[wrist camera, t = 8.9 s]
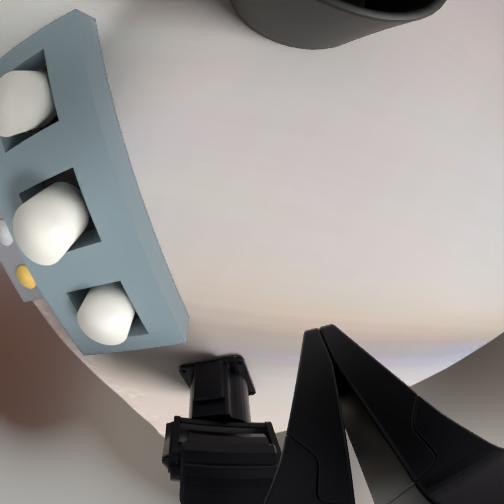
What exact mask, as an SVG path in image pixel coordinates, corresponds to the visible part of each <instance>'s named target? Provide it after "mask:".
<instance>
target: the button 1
mask: <svg viewBox="0 0 504 504" xmlns="http://www.w3.org/2000/svg"><path fill="white" fill-rule="evenodd" d="M56 115H57V111H56V107H55V103H54V99H53V95H52V90H51V86H50V81H49V76H48V71H11V72H8V73H6V74H5V75H3V76H2V77H1V78H0V136H2V137H10V136H13V135H16V134H19V133H23V132H26V131H29V130H33V129H36V128H40V127H43V126H45V125H47V124H49V123H50V122H51V121H52V120H53V119H54V118H55V116H56Z"/></svg>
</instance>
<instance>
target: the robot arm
mask: <svg viewBox="0 0 504 504" xmlns="http://www.w3.org/2000/svg"><path fill="white" fill-rule="evenodd" d="M179 372H180V374H181V375H182V377H183V379H184V380H185V382H186V383H187V385H188V386H189V388H190V407H189V418H182V417H180V416H174V422H171V423H167V424H166V434H165V443H164V449H163V456H162V458H163V459H162V463H163V464H164V465H165V466H166V468H167V469H168V473H170V475H171V478H170V479H171V481H177V482H180V494H179V495H180V502H181V504H355V498H354V490H353V481H352V474H351V467H350V459H349V452H348V446H347V439H346V433H345V429H346V431H347V434H348V436H349V439H350V441H351V444H352V446H353V449H354V452H355V454H356V456H357V459H358V462H359V464H360V467H361V469H362V472H363V474H364V477H365V480H366V482H367V485H368V487H369V490H370V492H371V495H372V498H373V501H374V503H375V504H504V448H501V447H498V446H496V445H493V444H491V443H490V442H488V441H486V440H484V439H482V438H481V437H479V436H478V435H476V434H474V433H473V432H471V431H469V430H468V429H466V428H464V427H463V426H461V425H459V424H458V423H456V422H455V421H453V420H452V419H450V418H449V417H447V416H446V415H444V414H442V413H441V412H440V411H439V410H437V409H436V408H435V407H433V406H432V405H430V404H429V403H428V402H427V401H426V400H425V399H423V398H422V397H421V396H417V393H416V392H415V391H414V390H412V389H411V388H410V387H409V386H407V385H406V384H405V383H404V382H403V381H401V380H400V379H399V378H398V377H397V376H395V375H394V374H393V373H392V372H390V371H389V370H388V369H387V368H386V367H384V366H383V365H382V364H381V363H380V362H378V361H377V360H376V359H375V358H374V357H372V356H371V355H370V354H369V353H367V352H366V351H365V350H364V349H363V348H361V347H360V346H359V345H358V344H357V343H355V342H354V341H353V340H352V339H351V338H349V337H348V336H347V335H346V334H345V333H343V332H342V331H341V330H340V329H339V328H337V327H336V326H335V325H333V324H330V325H326V326H322V327H320V328H319V329H318V328H314V329H310V330H306V331H305V332H304V335H303V342H302V349H301V355H300V362H299V368H298V374H297V380H296V385H295V391H294V397H293V402H292V407H291V413H290V418H289V423H288V428H287V433H286V434H287V436H286V437H285V442H284V446H283V451H282V453H281V450H280V447H279V444H278V441H277V438H276V435H275V432H274V429H273V426H272V423H271V422H265V423H252V422H251V417H250V407H249V397H248V396H250V395H254V394H255V393H256V391H255V387H254V384H253V382H252V379H251V376H250V374H249V371H248V368H247V366H246V363H245V360H244V358H243V357H240V356H239V357H232V358H227V359H221V360H215V361H208V362H202V363H195V364H188V365H182V366H180V367H179Z"/></svg>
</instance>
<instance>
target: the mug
mask: <svg viewBox="0 0 504 504" xmlns="http://www.w3.org/2000/svg"><path fill="white" fill-rule="evenodd" d="M230 1H231V3H232V6H233V7H234V9H235V10H236V12H237V13H238V15H239V16H240V17H241V18H242V19H243V20H244V21H245V23H247V24H248V25H249V26H250V27H251V28H253V29H254V30H255V31H257V32H258V33H260V34H261V35H263V36H265V37H267V38H269V39H271V40H273V41H275V42H278V43H281V44H284V45H286V46H290V47H295V48H301V49H311V50H315V49H327V48H333V47H337V46H340V45H342V44H345V43H348V42H350V41H353V40H356V39H358V38H361V37H364V36H367V35H370V34H373V33H376V32H379V31H382V30H385V29H388V28H391V27H395V26H398V25H402V24H405V23H409V22H413V21H416V20H420V19H423V18H425V17H428V16H430V15H432V14H433V13H435V12H436V11H437V10H439V9H440V8H441V7H442V5H443V4H444V3H445V2H446V0H230Z"/></svg>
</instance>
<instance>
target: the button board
mask: <svg viewBox="0 0 504 504" xmlns="http://www.w3.org/2000/svg"><path fill="white" fill-rule="evenodd" d="M44 65H47V71H48V76H49V81H50V86H51V90H52V95H53V99H54V103H55V107H56V111H57V115H58V119H59V121H58V122H56V123H54V124H52V125H50V126H48V127H47V128H45V129H43V130H41V131H40V132H38V133H36V134H34V135H33V136H31V137H29V138H27V135H26V132H23V133H19V134H16V135H13V136H10V137H2V136H0V211H1V213H2V216H3V218H4V220H5V223H6V225H7V227H8V230H9V232H10V234H11V236H12V238H13V240H14V243H15V245H16V247H17V249H18V251H19V253H20V255H21V257H22V259H23V261H24V263H25V265H26V266H27V268H28V270H29V272H30V274H31V276H32V278H33V279H34V281H35V283H36V285H37V286H38V288H39V290H40V291H41V293H42V295H43V296H44V298H45V300H46V301H47V303H48V305H49V306H50V308H51V309H52V311H53V312H54V314H55V316H56V317H57V319H58V320H59V322H60V323H61V325H62V326H63V328H64V329H65V330H66V332H67V333H68V335H69V336H70V337H71V339H72V340H73V342H74V343H75V344H76V346H77V347H78V348H79V350H80V351H81V352H82V354H83V355H92V354H103V353H113V352H122V351H131V350H139V349H147V348H154V347H162V346H169V345H175V344H182V343H186V342H187V333H188V324H189V315H188V313H187V311H186V308H185V306H184V304H183V301H182V299H181V297H180V295H179V292H178V290H177V288H176V285H175V283H174V280H173V278H172V276H171V273H170V271H169V268H168V266H167V263H166V261H165V258H164V256H163V253H162V251H161V248H160V245H159V243H158V240H157V238H156V235H155V232H154V230H153V227H152V224H151V222H150V219H149V216H148V213H147V210H146V208H145V205H144V202H143V199H142V196H141V193H140V190H139V187H138V184H137V181H136V178H135V175H134V172H133V169H132V166H131V163H130V160H129V156H128V153H127V150H126V147H125V143H124V140H123V136H122V133H121V129H120V126H119V122H118V119H117V115H116V111H115V108H114V104H113V100H112V96H111V92H110V88H109V84H108V79H107V75H106V71H105V66H104V62H103V57H102V52H101V47H100V42H99V37H98V32H97V26H96V21H95V19H94V18H93V17H91V16H89V15H87V14H85V13H82V12H80V11H78V10H76V9H75V10H73V11H71V12H69V13H67V14H66V15H64V16H62V17H60V18H59V19H57V20H55V21H54V22H52V23H50V24H49V25H47V26H45V27H44V28H42V29H41V30H39V31H38V32H36V33H35V34H33V35H32V36H30V37H29V38H27V39H26V40H24V41H23V42H22V43H20V44H19V45H18V46H16V47H15V48H13V49H12V50H11V51H10V52H8V53H7V54H6V55H4V56H3V57H2V58H1V59H0V78H1V77H2V76H3V75H5V74H6V73H8V72H11V71H36V70H38V69H40V68H41V67H43V66H44ZM70 168H73V169H74V172H75V175H76V178H77V180H78V183H79V186H80V189H81V191H82V194H83V197H84V199H85V202H86V205H87V207H88V210H89V212H90V215H91V217H92V220H93V222H94V224H95V227H96V229H92V230H89V231H86V232H83V233H82V234H81V235H80V236H79V237H78V238H77V239H76V241H75V242H74V243H73V244H72V245H71V247H70V248H69V249H68V250H67V251H66V253H65V254H64V255H63V256H62V257H61V259H60V260H59V261H58V262H56V263H55V264H52V265H40V264H37V263H35V262H33V261H31V260H30V259H29V258H28V257H26V256H25V255H24V253H23V252H22V251H21V250H20V248H19V246H18V244H17V242H16V240H15V237H14V233H13V218H14V214H15V212H16V210H17V209H18V208H19V207H20V206H21V205H22V204H23V203H25V202H26V201H28V200H29V199H31V198H32V197H33V196H35V195H36V194H38V193H39V192H41V191H42V190H44V188H43V185H42V181H45V180H47V179H49V178H51V177H53V176H55V175H57V174H59V173H61V172H64V171H66V170H68V169H70ZM116 281H121V283H122V285H123V287H124V289H125V291H126V293H127V295H128V297H129V299H130V301H131V302H132V304H133V306H134V308H135V310H136V312H135V314H134V317H133V320H132V323H131V326H130V329H129V332H128V336H127V338H126V340H125V341H124V342H122V343H120V344H118V345H105V344H101V343H98V342H96V341H94V340H92V339H91V338H89V337H88V336H87V335H86V334H85V333H84V332H83V331H82V330H81V328H80V326H79V324H78V321H77V313H78V310H79V309H80V307H81V305H82V303H83V301H84V299H85V297H86V296H87V294H88V292H89V290H90V288H89V287H94V286H98V285H103V284H107V283H112V282H116Z"/></svg>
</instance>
